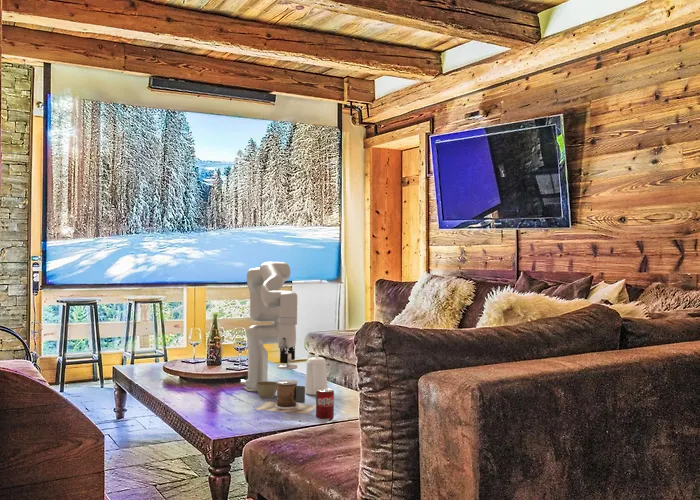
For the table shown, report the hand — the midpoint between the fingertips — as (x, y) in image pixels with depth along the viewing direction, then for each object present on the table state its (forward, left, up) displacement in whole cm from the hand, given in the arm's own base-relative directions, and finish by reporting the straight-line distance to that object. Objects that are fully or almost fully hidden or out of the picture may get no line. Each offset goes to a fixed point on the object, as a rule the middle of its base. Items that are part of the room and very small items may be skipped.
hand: (287, 361), depth 284 cm
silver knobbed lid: (0, 0, -3) cm, 3 cm away
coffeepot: (+2, +36, -21) cm, 42 cm away
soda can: (+20, -10, -21) cm, 31 cm away
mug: (+1, 0, -20) cm, 20 cm away
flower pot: (-16, +18, -21) cm, 32 cm away
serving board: (0, 0, -21) cm, 21 cm away
